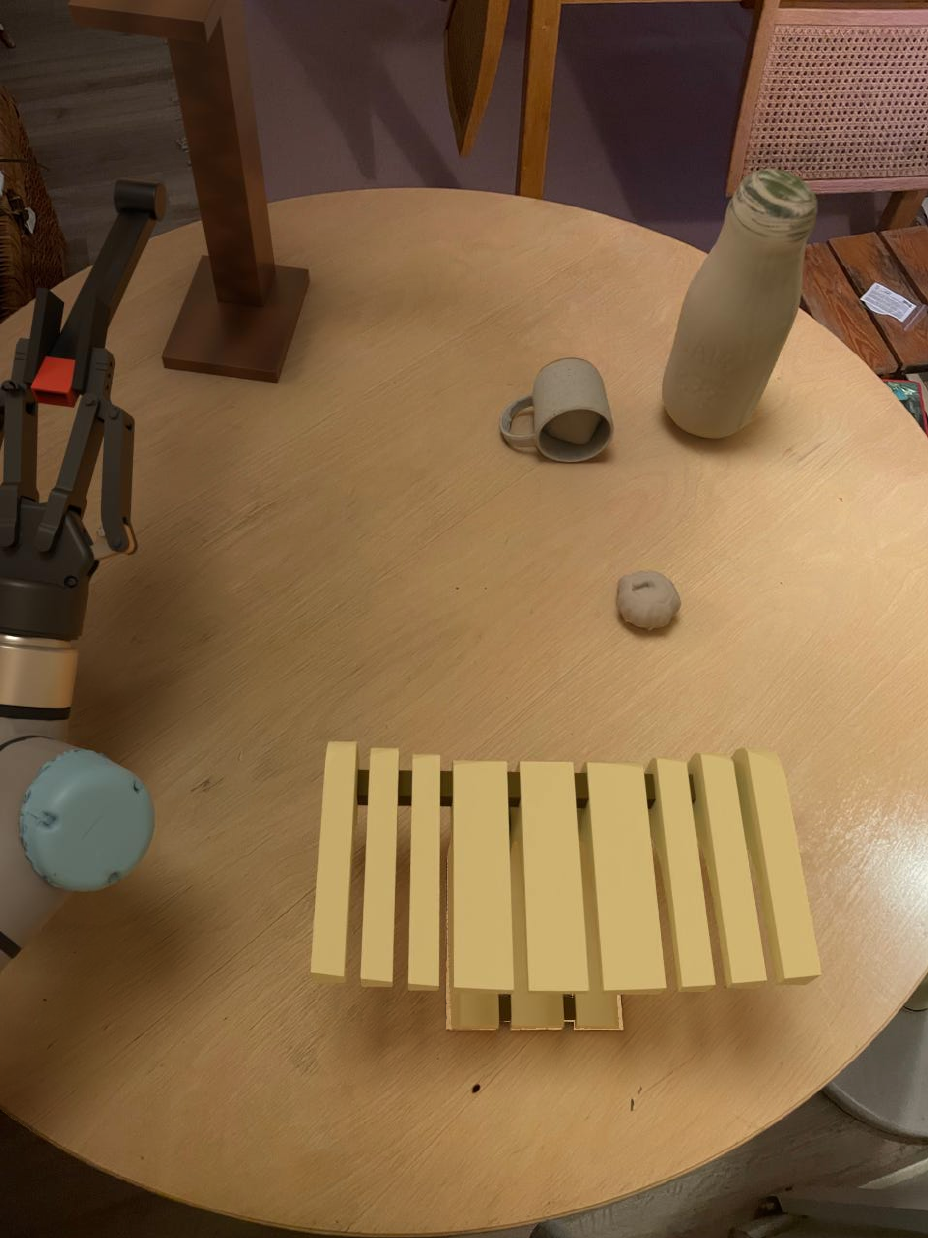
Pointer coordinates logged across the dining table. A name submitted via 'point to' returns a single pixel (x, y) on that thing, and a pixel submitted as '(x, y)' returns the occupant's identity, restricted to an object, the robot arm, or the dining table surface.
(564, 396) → the ceramic mug
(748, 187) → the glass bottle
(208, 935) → the dining table surface
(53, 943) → the dining table surface
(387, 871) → the slatted curved stool
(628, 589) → the garlic
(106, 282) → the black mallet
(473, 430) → the dining table surface
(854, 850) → the dining table surface
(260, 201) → the wooden post stand
